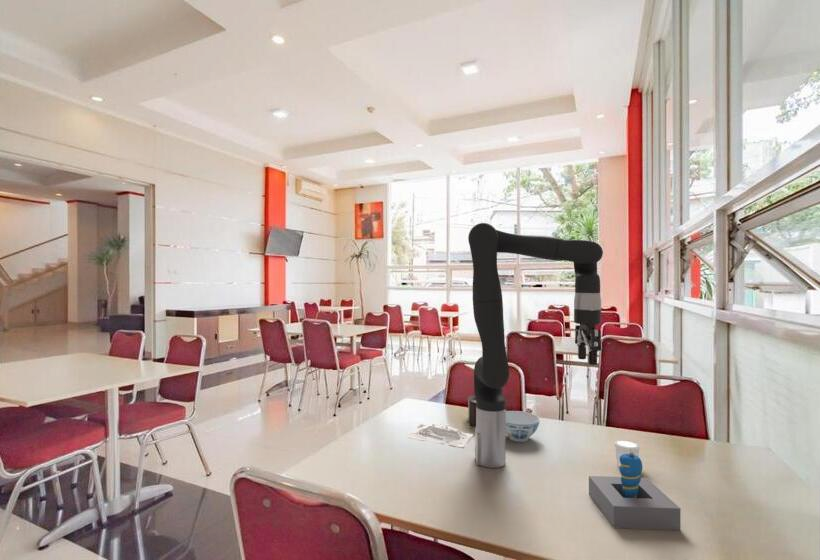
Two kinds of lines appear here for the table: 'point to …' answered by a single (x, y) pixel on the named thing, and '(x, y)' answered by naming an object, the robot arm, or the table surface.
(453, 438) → the terrain model
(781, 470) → the table surface
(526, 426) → the chinaware
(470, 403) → the pepper mill
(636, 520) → the socket block
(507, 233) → the robot arm
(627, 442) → the white short cylinder
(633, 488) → the ornament
